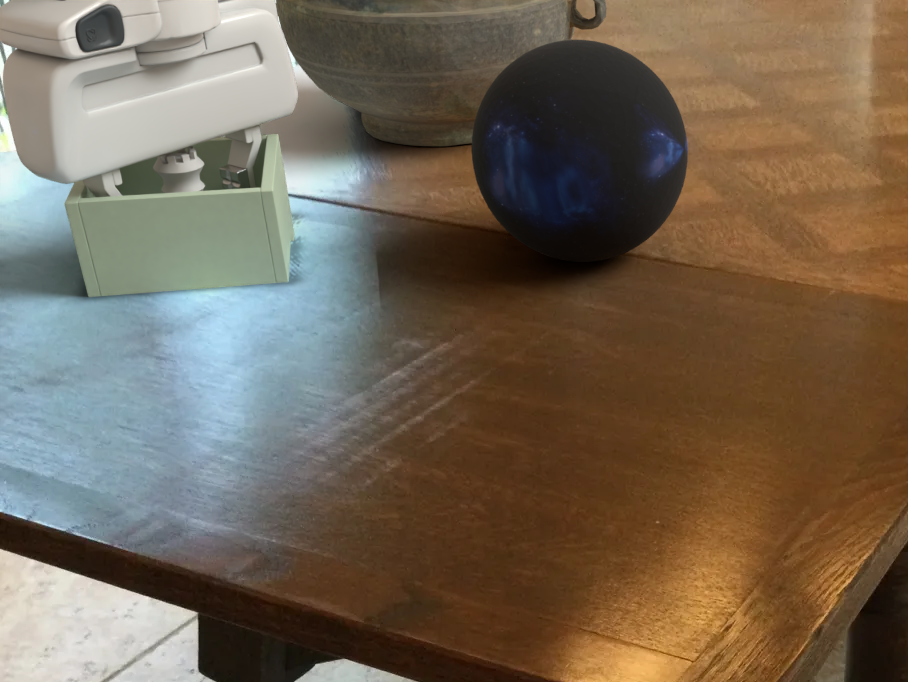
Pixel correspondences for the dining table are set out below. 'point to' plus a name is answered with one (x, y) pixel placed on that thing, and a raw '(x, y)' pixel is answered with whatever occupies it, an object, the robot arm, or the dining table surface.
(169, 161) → the rook chess piece
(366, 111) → the bowl
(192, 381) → the dining table surface
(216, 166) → the green open box
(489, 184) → the decorative sphere
